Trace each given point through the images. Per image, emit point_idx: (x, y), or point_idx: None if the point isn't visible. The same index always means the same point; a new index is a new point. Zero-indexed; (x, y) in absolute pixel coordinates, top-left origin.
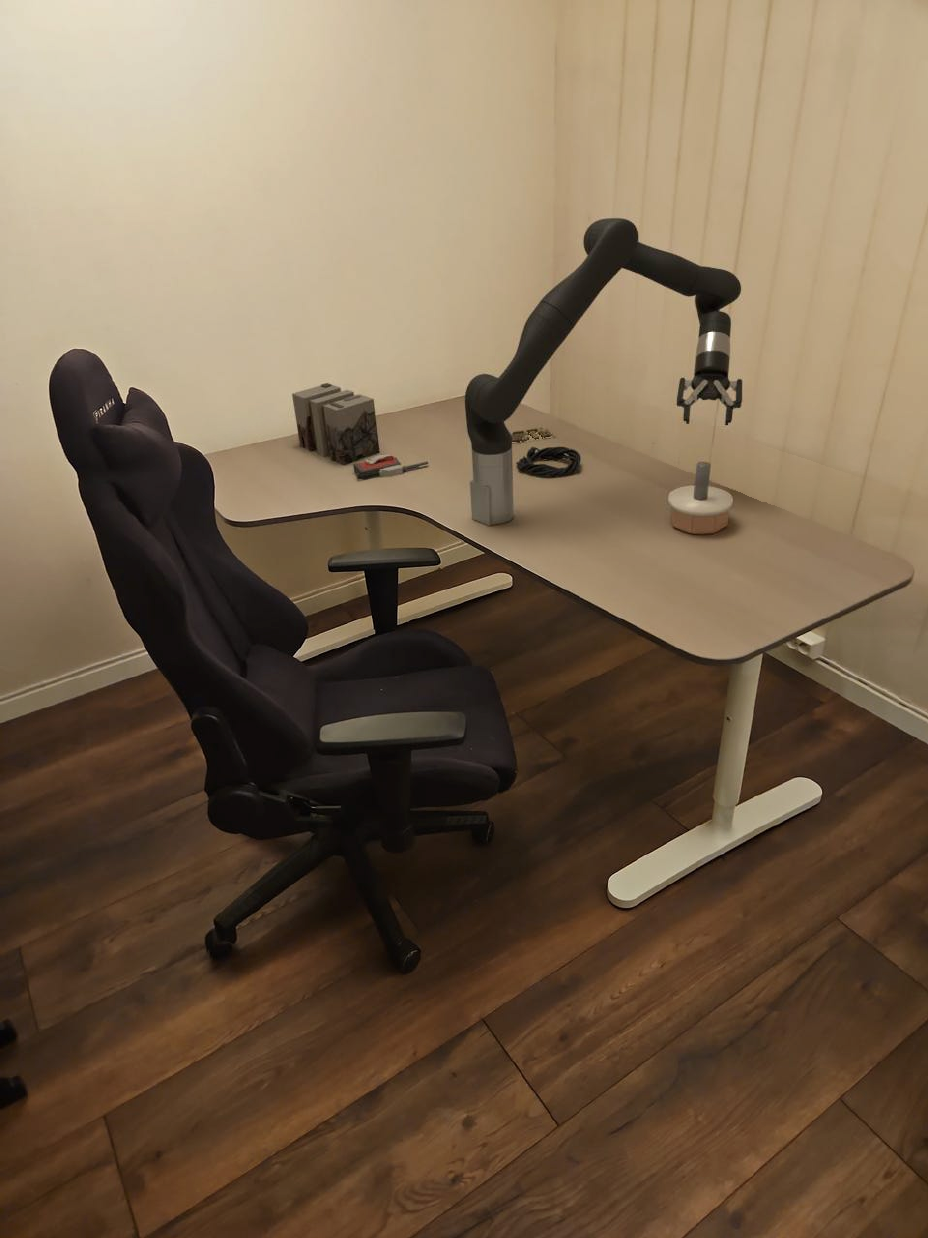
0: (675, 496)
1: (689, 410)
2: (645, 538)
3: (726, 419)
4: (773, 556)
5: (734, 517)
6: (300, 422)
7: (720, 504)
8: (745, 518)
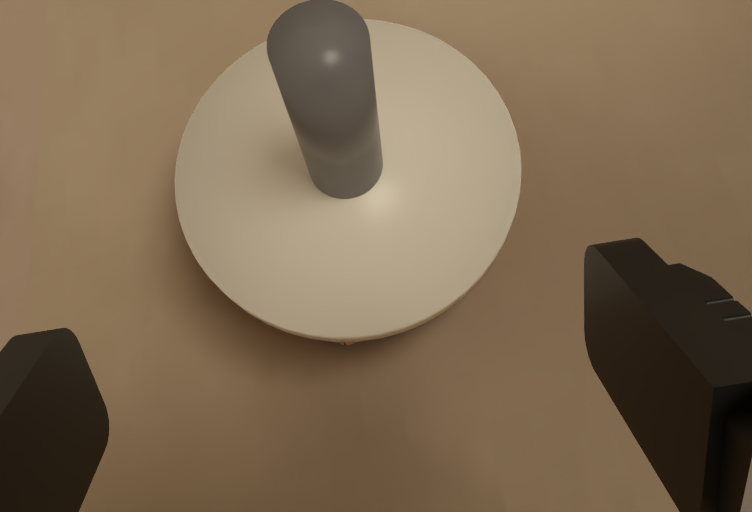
0: (479, 145)
1: (667, 315)
2: (538, 26)
3: (44, 333)
4: (45, 34)
5: (202, 324)
6: None
7: (233, 117)
8: (152, 328)
